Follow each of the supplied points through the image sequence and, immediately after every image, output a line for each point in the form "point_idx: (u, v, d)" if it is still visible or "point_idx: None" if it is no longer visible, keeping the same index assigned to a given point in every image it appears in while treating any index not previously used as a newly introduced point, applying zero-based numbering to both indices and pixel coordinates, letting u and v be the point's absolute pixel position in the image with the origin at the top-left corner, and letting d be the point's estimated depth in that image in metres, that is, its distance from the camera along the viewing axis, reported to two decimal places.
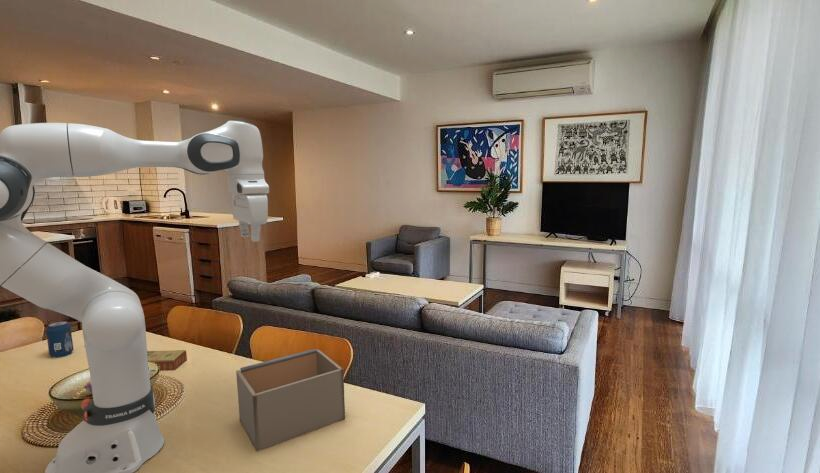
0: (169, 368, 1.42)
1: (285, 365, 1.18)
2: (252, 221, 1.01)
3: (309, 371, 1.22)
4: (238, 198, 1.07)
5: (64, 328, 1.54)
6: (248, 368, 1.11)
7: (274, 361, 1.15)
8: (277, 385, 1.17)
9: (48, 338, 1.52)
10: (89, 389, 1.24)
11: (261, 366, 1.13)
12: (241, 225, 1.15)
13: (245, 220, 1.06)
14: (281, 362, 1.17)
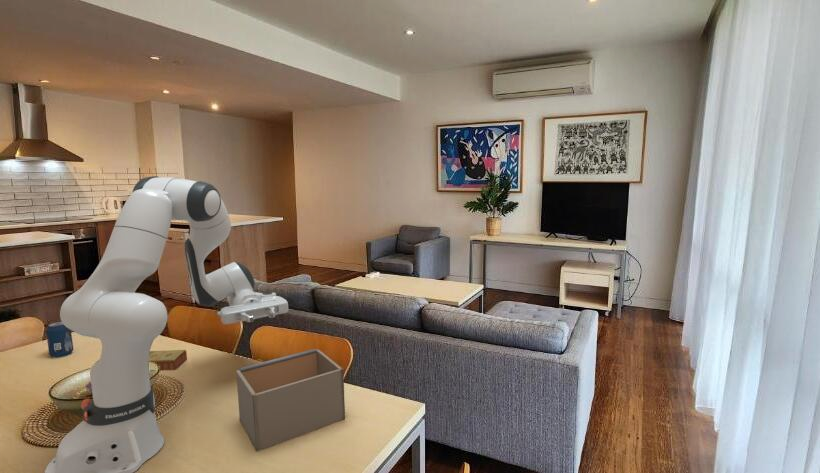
0: (170, 368, 1.43)
1: (285, 365, 1.18)
2: (286, 301, 1.38)
3: (309, 371, 1.22)
4: (256, 299, 1.38)
5: (64, 328, 1.54)
6: (248, 368, 1.11)
7: (274, 361, 1.15)
8: (277, 385, 1.17)
9: (48, 338, 1.52)
10: (90, 388, 1.24)
11: (261, 366, 1.13)
12: None
13: (268, 304, 1.34)
14: (281, 362, 1.17)
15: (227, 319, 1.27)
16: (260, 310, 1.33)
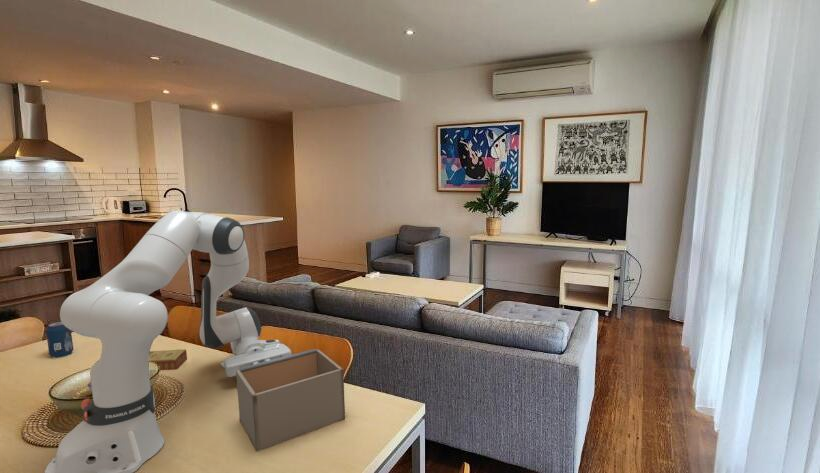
0: (171, 367, 1.43)
1: (285, 365, 1.18)
2: (289, 350, 1.39)
3: (309, 371, 1.22)
4: (260, 348, 1.39)
5: (64, 328, 1.54)
6: (248, 368, 1.11)
7: (274, 361, 1.15)
8: (277, 385, 1.17)
9: (48, 338, 1.52)
10: None
11: (261, 366, 1.13)
12: None
13: (272, 354, 1.36)
14: (281, 362, 1.17)
15: (231, 371, 1.28)
16: None
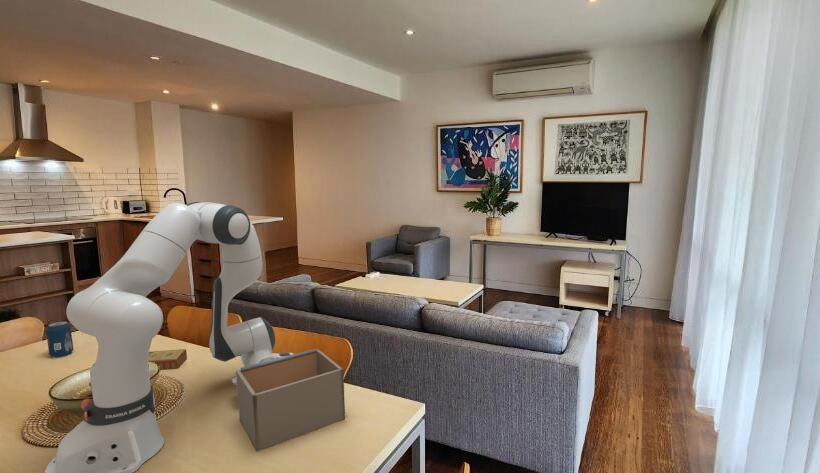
0: (172, 367, 1.43)
1: (285, 365, 1.18)
2: None
3: (309, 371, 1.22)
4: None
5: (64, 328, 1.54)
6: (248, 368, 1.11)
7: (274, 361, 1.15)
8: (277, 385, 1.17)
9: (48, 338, 1.52)
10: None
11: (261, 366, 1.13)
12: None
13: None
14: (281, 362, 1.17)
15: None
16: None
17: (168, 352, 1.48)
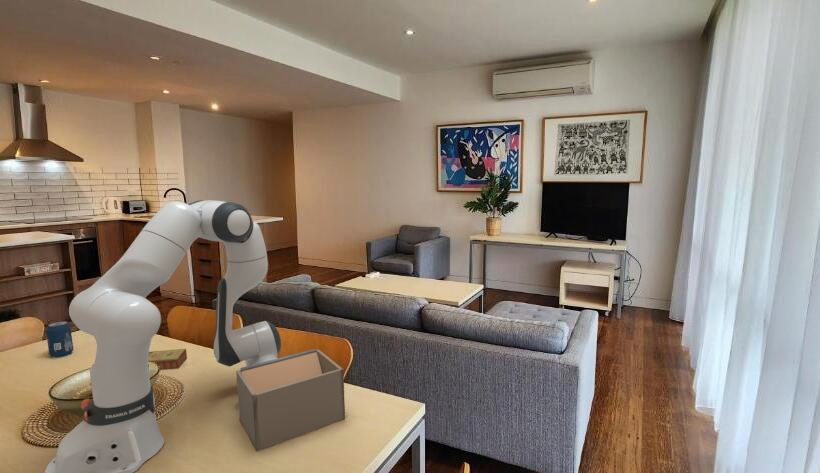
0: (173, 367, 1.43)
1: (287, 364, 1.17)
2: None
3: (313, 371, 1.19)
4: None
5: (64, 328, 1.54)
6: (248, 367, 1.12)
7: (274, 360, 1.16)
8: (281, 385, 1.13)
9: (48, 338, 1.52)
10: None
11: (261, 365, 1.13)
12: None
13: None
14: (281, 361, 1.16)
15: None
16: None
17: (168, 352, 1.48)
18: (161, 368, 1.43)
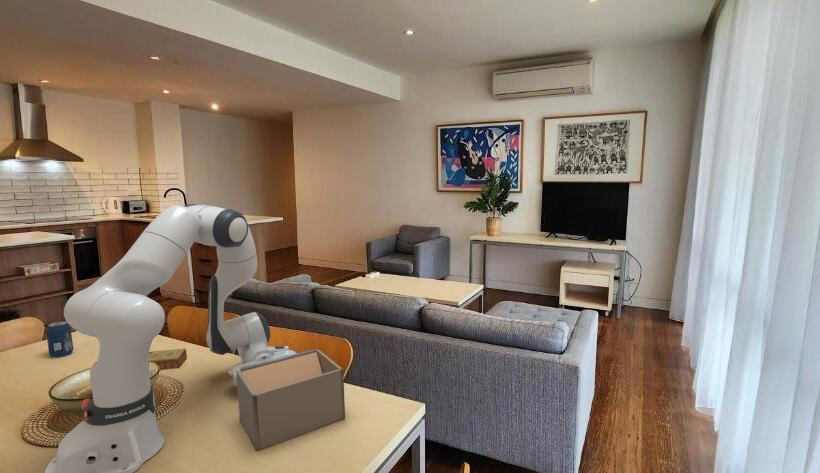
0: (173, 367, 1.44)
1: (287, 364, 1.17)
2: None
3: (313, 371, 1.19)
4: (269, 355, 1.32)
5: (64, 328, 1.54)
6: (248, 367, 1.12)
7: (274, 360, 1.16)
8: (281, 385, 1.13)
9: (48, 338, 1.52)
10: None
11: (261, 365, 1.13)
12: None
13: None
14: (281, 361, 1.16)
15: None
16: None
17: (168, 352, 1.48)
18: (162, 368, 1.43)
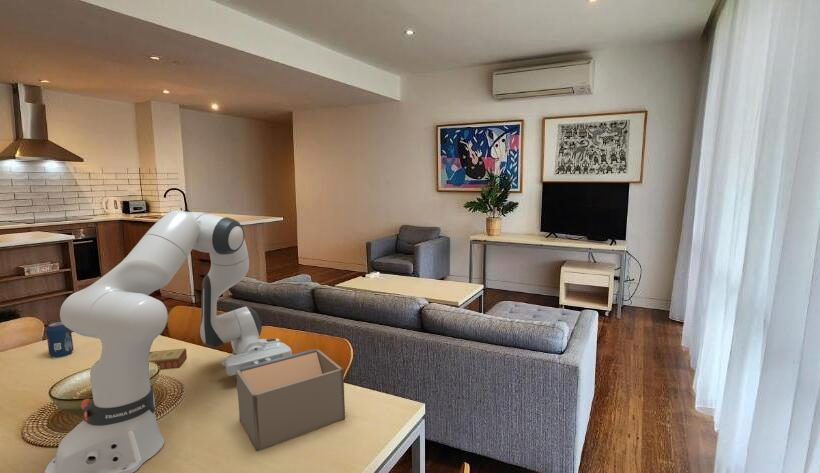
0: (174, 366, 1.44)
1: (287, 364, 1.17)
2: (290, 349, 1.39)
3: (313, 371, 1.19)
4: (260, 347, 1.39)
5: (64, 328, 1.54)
6: (248, 367, 1.12)
7: (274, 360, 1.16)
8: (281, 385, 1.13)
9: (48, 338, 1.52)
10: None
11: (261, 365, 1.13)
12: None
13: (272, 353, 1.36)
14: (281, 361, 1.16)
15: (231, 370, 1.28)
16: None
17: (168, 352, 1.48)
18: (162, 368, 1.43)
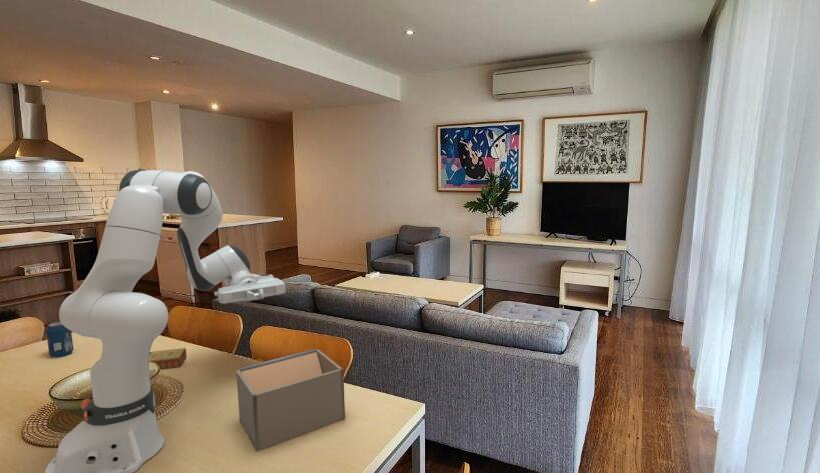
0: (175, 366, 1.44)
1: (287, 364, 1.17)
2: (283, 282, 1.39)
3: (313, 371, 1.19)
4: (253, 280, 1.38)
5: (64, 328, 1.54)
6: (248, 367, 1.12)
7: (274, 360, 1.16)
8: (281, 385, 1.13)
9: (48, 338, 1.52)
10: None
11: (261, 365, 1.13)
12: None
13: (265, 285, 1.35)
14: (281, 361, 1.16)
15: (224, 298, 1.28)
16: (257, 290, 1.34)
17: (168, 352, 1.48)
18: (163, 367, 1.43)
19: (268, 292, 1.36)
